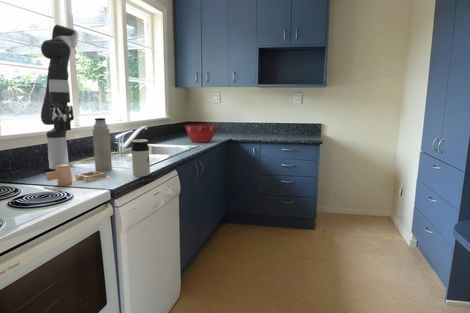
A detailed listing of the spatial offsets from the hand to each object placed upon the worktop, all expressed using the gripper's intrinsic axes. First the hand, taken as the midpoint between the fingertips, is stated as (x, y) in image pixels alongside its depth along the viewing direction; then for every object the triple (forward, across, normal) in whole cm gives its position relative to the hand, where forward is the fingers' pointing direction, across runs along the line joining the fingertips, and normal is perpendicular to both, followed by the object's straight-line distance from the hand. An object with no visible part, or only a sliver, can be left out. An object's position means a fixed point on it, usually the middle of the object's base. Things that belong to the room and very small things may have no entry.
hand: (62, 129), depth 138 cm
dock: (+24, -2, -11) cm, 27 cm away
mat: (+24, -3, +2) cm, 25 cm away
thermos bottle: (+25, +9, -25) cm, 37 cm away
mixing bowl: (+26, +43, -148) cm, 156 cm away
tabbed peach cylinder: (+24, -3, +4) cm, 24 cm away
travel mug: (+24, -16, -29) cm, 41 cm away
